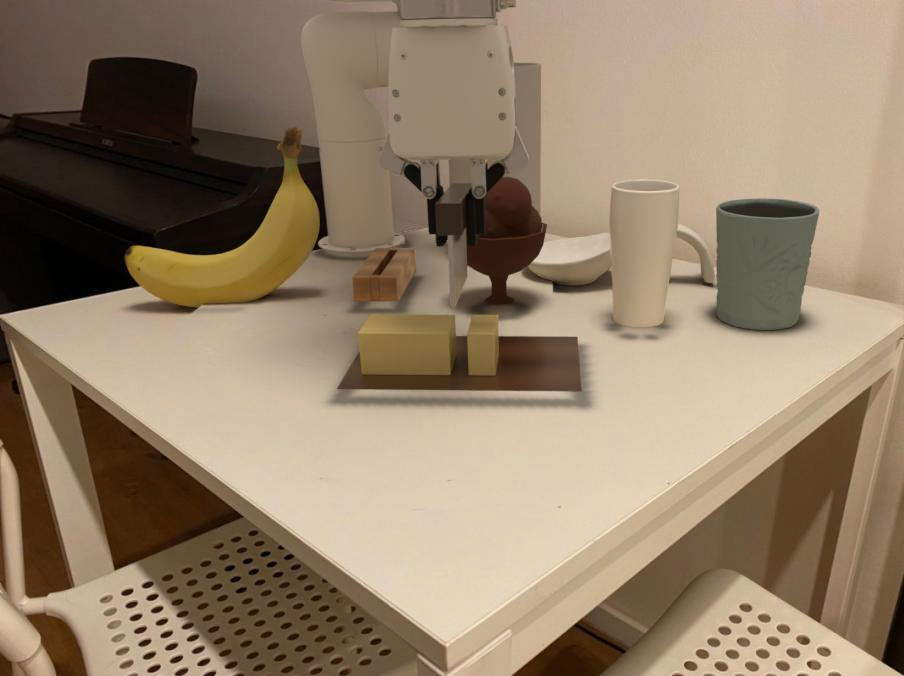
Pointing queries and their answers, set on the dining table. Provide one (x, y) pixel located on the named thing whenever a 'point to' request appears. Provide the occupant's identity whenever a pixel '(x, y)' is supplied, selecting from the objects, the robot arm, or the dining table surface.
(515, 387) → the board
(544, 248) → the spoon rest
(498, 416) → the dining table surface
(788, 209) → the green cup
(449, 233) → the knife
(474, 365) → the butter slice
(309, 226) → the banana
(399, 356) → the butter
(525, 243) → the ice cream bowl
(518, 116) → the cylinder vase
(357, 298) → the knife block
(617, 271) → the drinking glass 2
